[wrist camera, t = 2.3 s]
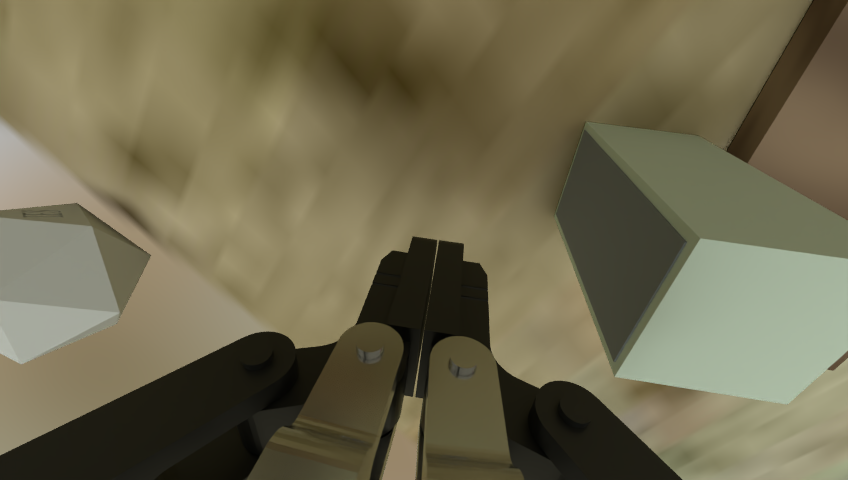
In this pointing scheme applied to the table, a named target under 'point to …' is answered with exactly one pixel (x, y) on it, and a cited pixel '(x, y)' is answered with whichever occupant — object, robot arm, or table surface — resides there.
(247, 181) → the table surface
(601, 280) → the sage block
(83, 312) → the die
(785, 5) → the table surface
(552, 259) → the table surface
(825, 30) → the board
